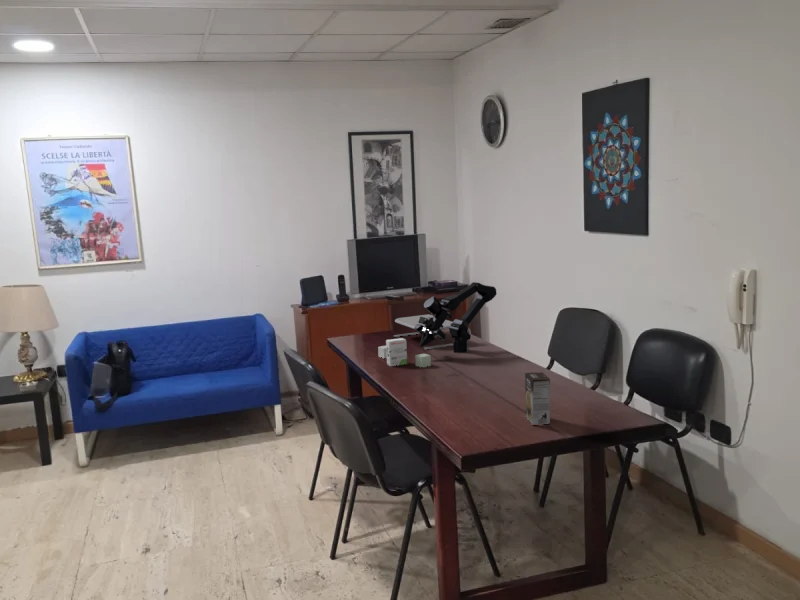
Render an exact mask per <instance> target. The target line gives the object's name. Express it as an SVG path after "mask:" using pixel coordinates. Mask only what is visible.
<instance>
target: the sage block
mask: <svg viewBox="0 0 800 600" xmlns="http://www.w3.org/2000/svg"><path fill="white" fill-rule="evenodd" d="M414 356H415V358H414V360H415V367H418V366H419V367H418V368H421V367H423V368H427V366H428V367H431V366H432V358H431V355H430V354H428V353H420V354H415V355H414Z"/></svg>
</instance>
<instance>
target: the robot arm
mask: <svg viewBox="0 0 800 600" xmlns="http://www.w3.org/2000/svg"><path fill="white" fill-rule="evenodd" d="M475 293H477V297H476V299H475V300H474V301H473V302H472V303H471V305H470V307H468V309H467V310H466V311H465V312H464V314H463V316H462V317H461V318H460V319H459V318H458V319H457V318H455V319H454V320H453V321H452V322H453V323H452V324H450V325H451V326H450V328H449V329H448V330H449V331H448V332H449V334H450V336H451V338H452V339H453V342H452V343H453V346H452V347H453V353H464V352H466V353H468V352H469V350H470V349H469V340H471V336H472V334H471V335H470V334H469V333H468V328H469V327H470V324H471V322H472V321H474V318H476V316H477V314H479V313H480V311H481V309H483V307H484V306H485V304H487V303H488V302H490V301H492V300H494V298H496V296H497V294H498V293H497V289H496V287H495V286H493V285H485V284H482V283H480V282H476V281H475V282H471V283H470V284H469V285H468V286H466V287H464V288H463V289H462V290H460V291H458V292H456V293H455V294H453V295H448V296H445V297H444V298H442V299H441V300H438V299H437V298H436V297H435V296H431V297H430V298H428V299H426V300H425V302H424V303H423V307H424V308H425V309H426V310H427V311H428V312H429V313H430V315H433V318H432V317H428V318H425V317H420V319H419V322H418V323H421V324H424V326H425V327H426V328H425V327H424V326H423V325H420V324H417V325H416V326H415V327H414V328H415V329H416V330H415V329H414V330H415V331H416V332H419V333H420V334H419V335H421V338H420V341H419V345H418V346H419V347H420V348H424V347H425V346H426V345H429V344H430V343H431V342H434V341H436V340H437V339H436V338H437V337H439V340H440V341H445V340H446V338H447V334H446V333H445V332H444V330H441V329H440V327H441V328H443V325H442V324H443V323H444V321H445V320H447V318H448V319H452V313H451V312H448V311H452V312H453V311H455V310H456V309H457V308H459V306H460V304H461V303H463V301H465V300H467V299H468V298H470V297H472V296H473V295H474V294H475ZM469 329H470V328H469ZM467 351H468V352H467Z"/></svg>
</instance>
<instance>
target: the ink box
mask: <svg viewBox="0 0 800 600" xmlns="http://www.w3.org/2000/svg"><path fill="white" fill-rule="evenodd" d="M385 346H386V352H387V358H386V364H387V366H389V367H397V366H405V365H408V353H407V352H408V351H407V350H408V349H407V339H406V338H403V337H398V338H393V339H392V338H391V339H386V340H385ZM404 364H405V365H404ZM396 365H397V366H396Z"/></svg>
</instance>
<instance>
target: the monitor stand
mask: <svg viewBox="0 0 800 600" xmlns="http://www.w3.org/2000/svg"><path fill="white" fill-rule="evenodd" d="M433 316H434V314H422V315H421V314H420V315H413V316H405V317H397V318H395V319H394V322H395V323H397V324H399V325H402V326H405V327H407V328H410V329H413V330H415V331H416V332H410V333H402V334H396V335H395V334H394V335H392V338H393V337H396V338H401V337H400V336H403V337H409V336H408V335H411V336H416V334H418V335H421V334H420V333H419V332H418V331H417V330H416V329H415V328H414V327H415V326H416V325H417V324H420V325H423V326H424V324H421V323H418V322H419V319H420V317H425V318H428V317H432V318H433ZM452 323H453V321H451V320H448V319H446V320H445V321H444V323H443V324H442V325H443V328H441V327H440V329H441V330H442V331H445V330H449V328H450V326H451V325H450V324H452ZM424 327H425V326H424ZM425 328H426V327H425ZM467 332H468V333H469V334H470V335H471V336H472V332H471V328H468V331H467ZM447 346H449V347H453V342H452V343H447V344H438V345H433V346H426V347H425V346H423V347H422V350H423V351H428V350H427V349H429V350H434V348H435V349H441V348H440V347H442V348H448V347H447Z"/></svg>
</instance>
